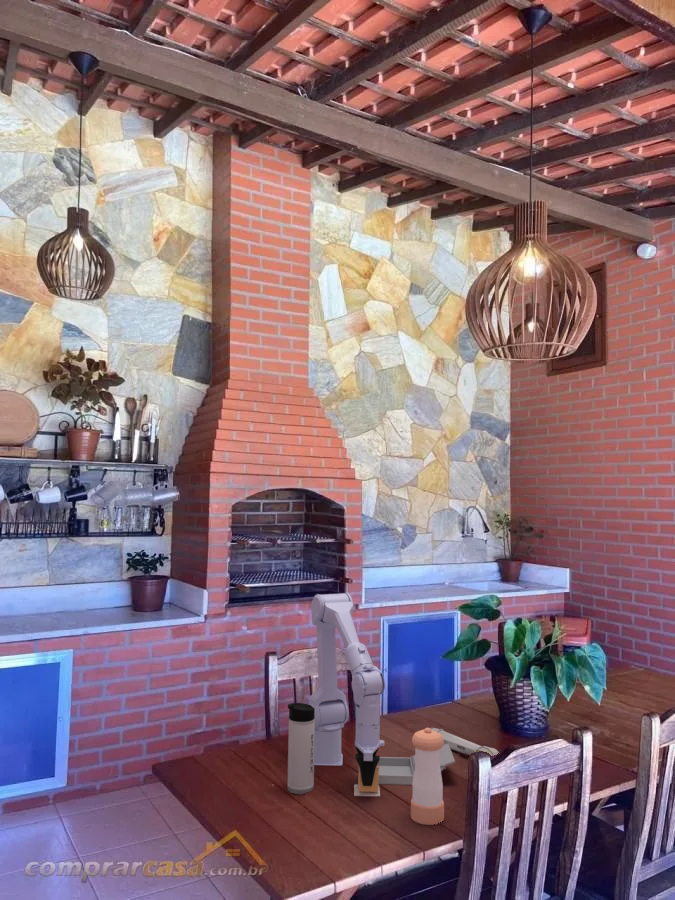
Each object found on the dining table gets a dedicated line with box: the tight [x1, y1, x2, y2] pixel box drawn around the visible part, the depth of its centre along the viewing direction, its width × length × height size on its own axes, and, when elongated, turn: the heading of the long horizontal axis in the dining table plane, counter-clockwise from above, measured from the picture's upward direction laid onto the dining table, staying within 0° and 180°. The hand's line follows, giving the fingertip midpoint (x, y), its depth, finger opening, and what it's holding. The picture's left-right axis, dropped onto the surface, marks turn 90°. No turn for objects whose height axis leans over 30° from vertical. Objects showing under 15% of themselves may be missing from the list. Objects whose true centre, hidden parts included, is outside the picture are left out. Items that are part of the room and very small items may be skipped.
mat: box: [353, 784, 381, 797], centre depth 166 cm, size 6×6×1 cm
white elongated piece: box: [429, 727, 500, 756], centre depth 190 cm, size 5×7×25 cm
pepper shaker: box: [410, 727, 445, 826], centre depth 154 cm, size 7×7×19 cm
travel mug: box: [287, 702, 315, 795], centre depth 168 cm, size 6×7×20 cm
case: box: [378, 744, 456, 786], centre depth 175 cm, size 20×13×6 cm, turn 89°
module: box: [357, 764, 380, 792], centre depth 166 cm, size 4×4×6 cm
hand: (367, 780), depth 166 cm, fingers closed on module, 4 cm apart
